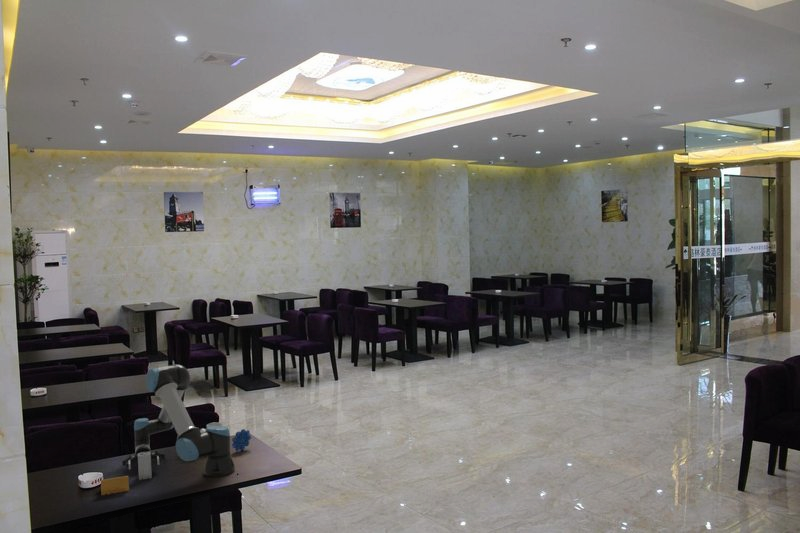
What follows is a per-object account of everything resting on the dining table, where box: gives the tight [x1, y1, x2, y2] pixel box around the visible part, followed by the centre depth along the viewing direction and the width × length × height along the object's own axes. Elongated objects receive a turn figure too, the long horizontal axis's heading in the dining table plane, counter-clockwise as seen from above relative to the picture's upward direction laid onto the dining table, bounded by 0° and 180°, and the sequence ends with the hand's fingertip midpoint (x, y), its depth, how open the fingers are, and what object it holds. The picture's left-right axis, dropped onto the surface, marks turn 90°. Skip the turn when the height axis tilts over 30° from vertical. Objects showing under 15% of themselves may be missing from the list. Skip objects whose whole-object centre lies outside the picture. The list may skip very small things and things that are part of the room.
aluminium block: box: [137, 450, 153, 481], centre depth 322 cm, size 6×6×12 cm
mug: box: [206, 422, 223, 428], centre depth 376 cm, size 12×9×11 cm
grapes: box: [231, 428, 252, 452], centre depth 360 cm, size 12×7×12 cm, turn 129°
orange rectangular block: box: [100, 475, 130, 496], centre depth 305 cm, size 9×12×7 cm
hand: (144, 464), depth 320 cm, fingers open, 13 cm apart
